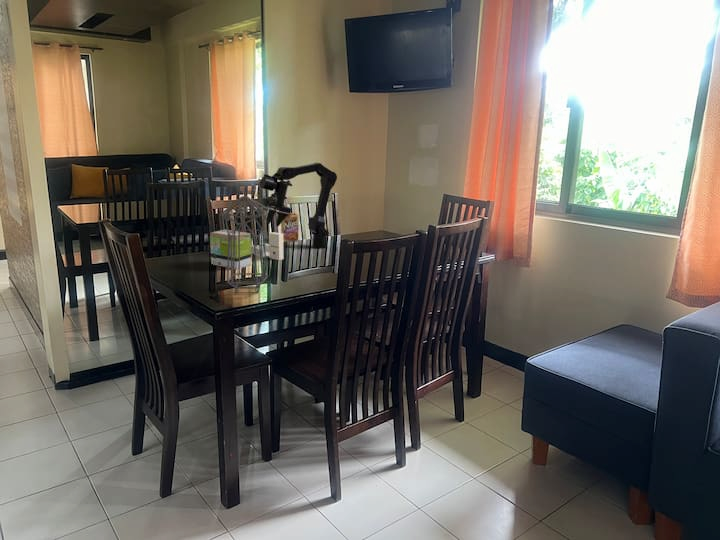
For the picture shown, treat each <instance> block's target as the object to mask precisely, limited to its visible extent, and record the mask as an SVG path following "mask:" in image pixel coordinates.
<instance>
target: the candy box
mask: <svg viewBox="0 0 720 540" xmlns="http://www.w3.org/2000/svg"><path fill="white" fill-rule="evenodd" d="M288 214H289V215H287V217H286V218H285V219H284V220H283V221H282V223H281V224H280V225H281V229H280V230H281V231H280V233H282V234H283V243H284V242H285V243H286V242H288V243H289V242H299V225H300V223H299V222H300V221H299V213H298V212H291V214H290V213H288Z"/></svg>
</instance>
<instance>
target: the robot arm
mask: <svg viewBox="0 0 720 540" xmlns="http://www.w3.org/2000/svg"><path fill="white" fill-rule="evenodd" d="M310 173H316V175H317V176H318V177H320V186H321V187H320V192H319V196H318V200H317V205H316V209H315V213H314V215H313V216H310V217H309V219H308V224H307V225H308V229H309V231H310V233H311V235H313V236H312V239H311V242H312V243H311V247H313V248H314V247H315V249H326V248H325V247H328V246H327V240H328V239H327V237H329V234H330V232H329V231H328V230H327V229H326V221H325V214H326V209H327V206H328V202H329V198H330V194H331V191H332V189H333V188H334V186H335V185H336V183H337V180H338V175H337V173H336V172H335V171H332V170H331V169H329V168H327V167H325V165H323V164H322V163H320V162H314V163H309V164H304V165H299V166H292V167H291V166H281V167H278V168H277V171H276V172H275V173H274V174H273V175H272V176H271V175H269V174H267V173H266V174H264V173H263V176H262V177H261V179H260V181H259V188H260V189H263V190H267V191H270V192H273V193H271V195H270V196H264V197H260V204H261V205H263V206H265V207H267V208H268V209H269V212H268V215H267V218H266V222H267V224H268V225H269V224H270V223H271V222H272V220H273V219H274V217H275V215H276V220H275V221H276V222H275V223H276V224H275V226H276V227H279V226H280V225H281V223H282V221H283V220H284V219H285V218H286V217H287V215H289V214H288V213H290V214H291V213H292V208H291V207H288V206H286V205H284V204H285V200H287V199H288V197H287V196H286V195H287V192H288V187H293V184H292V183H291V179H295V178H296V177H297V176H300V175H305V174H310ZM266 211H267V210H265V211H264V212H266Z"/></svg>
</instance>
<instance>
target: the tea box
mask: <svg viewBox="0 0 720 540" xmlns="http://www.w3.org/2000/svg"><path fill="white" fill-rule="evenodd" d="M232 230H233V229H232ZM232 230H230V229H228V231H229V233H230V232H231V231H232ZM233 232H234V231H233ZM233 232H232V233H231V234H230V235H232V234H233V235H234V233H233ZM238 233H239V231H235V235H238ZM240 235H243V236H252V234H251V232H246V231H245V232H244V231H240ZM228 238H229V236H228V233H227V228H226V229H220V230H217V231H212V232H210V233H209V241H210V242H209V245H210V261H211V263H210V264H211V265H212V264H213V266H219V267H223V268H227V265H228ZM251 238H252V237H241V236H240V268H241V269H243V267H244V268H246V266H247V267H249V266H252V253H251V245H252V242H251V241H252V239H251ZM233 243H234V236H232V264H233ZM229 269H231V247H230V252H229ZM236 269H237V270H238V236H235V260H234V270H236Z"/></svg>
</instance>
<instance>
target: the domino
mask: <svg viewBox="0 0 720 540" xmlns="http://www.w3.org/2000/svg"><path fill="white" fill-rule="evenodd" d="M268 244H269V256H268V257H269V259H270V258H272V259H271V260H277V261H281V260H284V259H285V258H284V242H283V234H282V233H281V232H274V231H273V232H269V233H268Z"/></svg>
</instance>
